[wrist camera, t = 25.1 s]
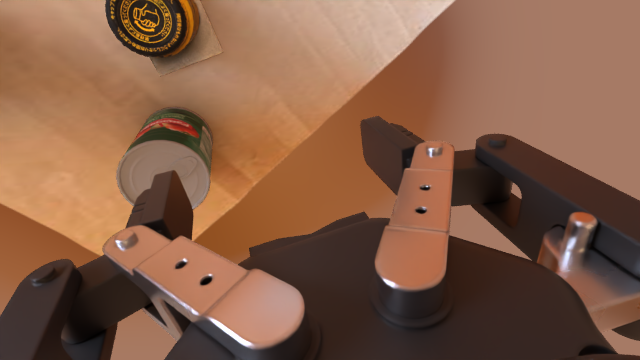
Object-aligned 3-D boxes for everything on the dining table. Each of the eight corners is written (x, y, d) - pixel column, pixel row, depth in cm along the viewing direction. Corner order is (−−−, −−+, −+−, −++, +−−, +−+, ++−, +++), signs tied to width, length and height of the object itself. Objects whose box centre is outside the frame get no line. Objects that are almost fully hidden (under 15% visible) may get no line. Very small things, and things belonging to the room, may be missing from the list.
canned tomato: (176, 180, 42) (162, 231, 32) (125, 132, 38) (93, 176, 28) (226, 144, 41) (227, 186, 32) (181, 93, 37) (167, 123, 28)
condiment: (184, -36, 32) (166, -53, 22) (223, 52, 36) (224, 71, 26) (112, -10, 31) (59, -15, 21) (160, 76, 36) (136, 105, 26)
